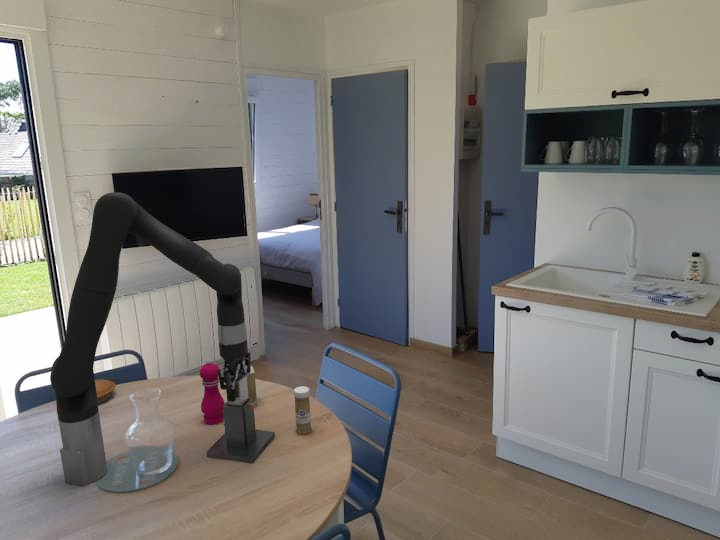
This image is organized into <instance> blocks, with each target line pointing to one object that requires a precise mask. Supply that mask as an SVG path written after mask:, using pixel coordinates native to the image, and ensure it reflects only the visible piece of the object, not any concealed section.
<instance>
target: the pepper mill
mask: <svg viewBox="0 0 720 540" xmlns="http://www.w3.org/2000/svg"><path fill="white" fill-rule="evenodd" d="M219 369H220V367H219V365H217V364H216V363H213V361H212V360H211V359H210V358H208V359H206V360H205V364H204V365H202V366H201V367H200V368H199V376H200V378H201V379H202V380H201V383H202V386H203V387H204V388H203V389H204V392H203V397H202V400H201V405H200V410H201V412H202V413H203V422H204V424H208V425H216V424H219V423H222V422H224V415H223V405H224V404H225V403H226V402H225V400H224V398H223V396H222V395H221V392H220V391H219V390H220V389H219V384H220V382H219V376H218V370H219Z"/></svg>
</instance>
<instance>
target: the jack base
mask: <svg viewBox="0 0 720 540" xmlns="http://www.w3.org/2000/svg"><path fill="white" fill-rule="evenodd" d="M248 399H249V401H248V402H247V403H246V404H245V405H244V406H243V407H242V408H241V407H233V406H228V404H227V401H226V402H225V404H224V405H223V415H224V420H223V423H224V434H222V435H221V436H220V437H219V438H218V439H217V440H216V442H214V443H213V444H212V445H211V446H210V447H209V448H208V449H207V450H206V452H205V453H206V457H208V458H214V459H215V458H216V459H221V460H228V461H235V462H242V463H247V464H254V463H255V462H256V461H257V459H258V458H259V457H260V455H261V454H262V453H263V452H264V451H265V449H266V448H267V447H268V446H269V445H270V443H271V442H272V441H273V439H275V437H276V432H275V431H269V430H261V429H256V428H257V427H256V417H255V416H256V415H255V408H256V407H255V403H253V398H248Z"/></svg>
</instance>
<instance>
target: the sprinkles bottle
mask: <svg viewBox="0 0 720 540" xmlns="http://www.w3.org/2000/svg"><path fill="white" fill-rule="evenodd" d="M310 395H311V393H310V388H309V387H308V386H297V387H295V388H294V390H293V396H294V410H295V412H294V413H295V427H296V429H295V432H296V433H297V434H299V435H308V434H309V433H311V431H312V427H311V404H310Z"/></svg>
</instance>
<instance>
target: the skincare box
mask: <svg viewBox="0 0 720 540" xmlns="http://www.w3.org/2000/svg"><path fill="white" fill-rule="evenodd" d="M246 368H247V365H246ZM247 386H248V398H253V403H255V408H257V407H258V398H257V385H256V373H255V369H254V366H253V365H251V372H250V373H248V377H247Z"/></svg>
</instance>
